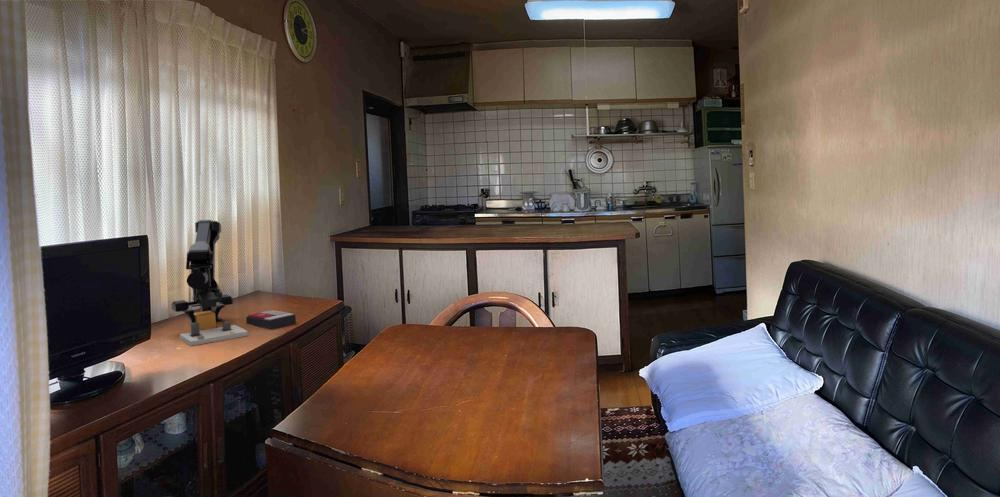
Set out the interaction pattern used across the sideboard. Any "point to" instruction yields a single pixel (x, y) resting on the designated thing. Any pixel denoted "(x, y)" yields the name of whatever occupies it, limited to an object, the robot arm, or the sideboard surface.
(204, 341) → the panel
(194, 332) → the breaker
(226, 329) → the lever
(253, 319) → the calculator
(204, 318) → the light orange cube
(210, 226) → the robot arm
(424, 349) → the sideboard surface
